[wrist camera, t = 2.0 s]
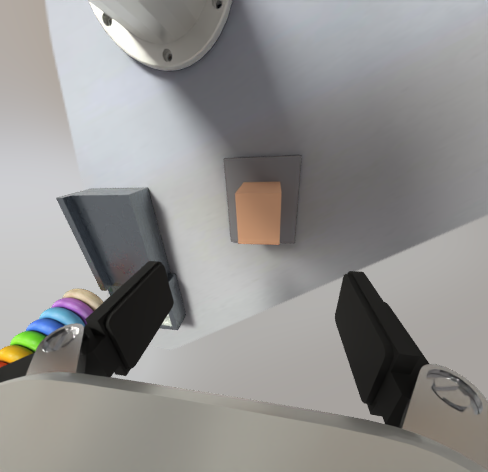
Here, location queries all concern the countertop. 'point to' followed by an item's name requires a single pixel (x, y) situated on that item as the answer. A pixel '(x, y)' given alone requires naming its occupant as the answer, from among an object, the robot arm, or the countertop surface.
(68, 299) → the stacking toy
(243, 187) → the tan cardboard box
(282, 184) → the mat
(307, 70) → the countertop surface
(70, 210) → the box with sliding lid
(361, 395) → the robot arm
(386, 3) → the countertop surface
